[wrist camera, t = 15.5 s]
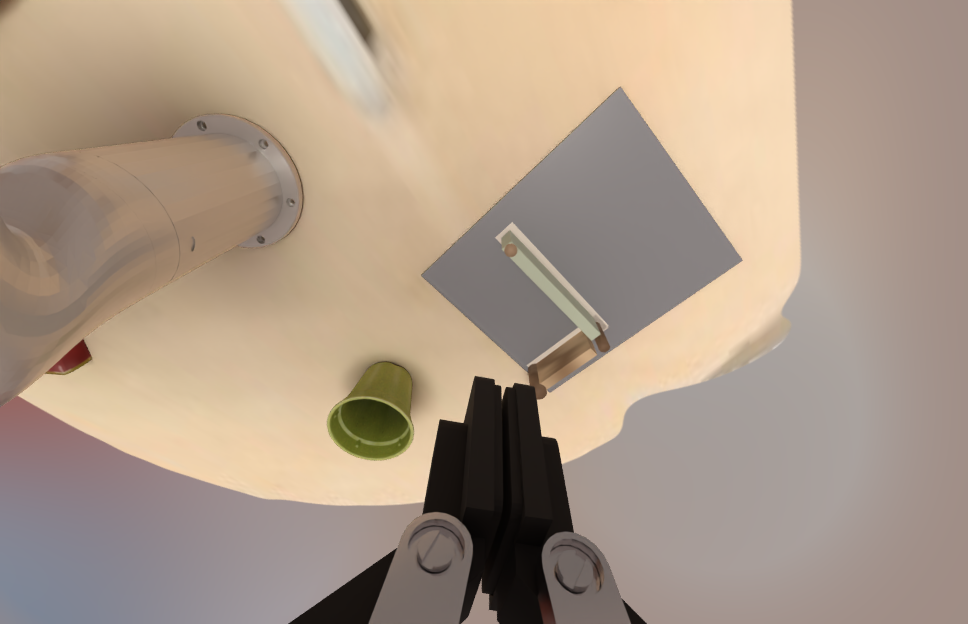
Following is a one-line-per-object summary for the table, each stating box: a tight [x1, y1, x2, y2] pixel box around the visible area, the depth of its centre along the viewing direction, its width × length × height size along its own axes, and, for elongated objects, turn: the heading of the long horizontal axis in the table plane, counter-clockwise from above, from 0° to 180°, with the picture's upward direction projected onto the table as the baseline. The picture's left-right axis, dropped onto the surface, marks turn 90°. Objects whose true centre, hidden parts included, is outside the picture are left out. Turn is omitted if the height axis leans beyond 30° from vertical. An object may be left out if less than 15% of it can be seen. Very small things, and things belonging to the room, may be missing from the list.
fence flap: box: [501, 231, 601, 341], centre depth 41 cm, size 14×1×4 cm, turn 44°
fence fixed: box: [528, 322, 610, 399], centre depth 46 cm, size 10×2×5 cm, turn 134°
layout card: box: [421, 87, 743, 392], centre depth 43 cm, size 26×22×1 cm
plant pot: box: [327, 362, 414, 461], centre depth 47 cm, size 9×9×9 cm
